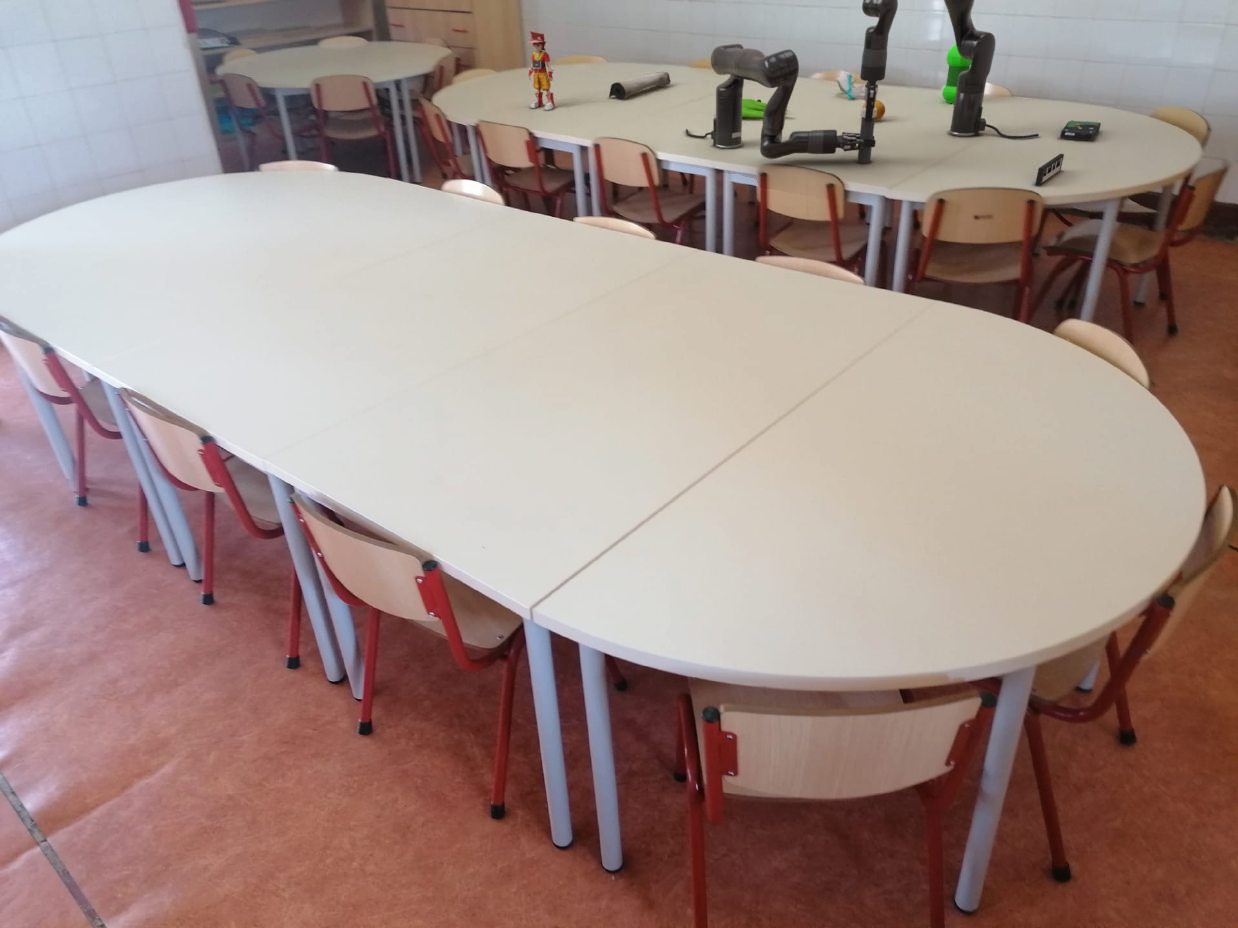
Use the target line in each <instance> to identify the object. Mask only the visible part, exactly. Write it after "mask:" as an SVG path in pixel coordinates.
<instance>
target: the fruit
mask: <svg viewBox="0 0 1238 928" xmlns="http://www.w3.org/2000/svg"><path fill="white" fill-rule="evenodd" d="M865 106H866V105H865V103H863V105H862V106H861V109H862V108H863V107H865ZM874 106H875V108H877V115H876V117H875V122H876V121H879V120H881V119H882V118H883V117H884V115H885V114H886V106H885V104H884V103H883V102H882V101H881V100H878V99H876V101H875V105H874Z"/></svg>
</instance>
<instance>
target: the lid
mask: <svg viewBox="0 0 1238 928" xmlns="http://www.w3.org/2000/svg"><path fill="white" fill-rule="evenodd" d="M862 107H863V106H862ZM862 107H861V110H860V117H861V118H862V117H864V118H865V114H866V109H865V107H863V108H862ZM876 115H877V108H874V110H873V116H872V118H873V117H876Z"/></svg>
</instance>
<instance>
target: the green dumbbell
mask: <svg viewBox="0 0 1238 928" xmlns="http://www.w3.org/2000/svg"><path fill="white" fill-rule="evenodd" d="M946 63H947V64H948V69H947V70H948V71H947V76H946V77H947V78H946V84H945V85H944V87H943V90H942V97H943V99H944V100H945V101H946V102H947V103H948V104H954V103H955V96H956V90H957V83H958V77H959V74H960V73H961V72H963V71H967V70H969V69H970V66H971V63H972V60H967V59H964V58H962V57H961V56H960V55H959V53H958V50H957V45H956V44H954V45H953V46H952V47H951V48H950V49H949V50H948V52H947V54H946Z"/></svg>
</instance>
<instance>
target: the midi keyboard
mask: <svg viewBox="0 0 1238 928" xmlns="http://www.w3.org/2000/svg"><path fill="white" fill-rule="evenodd" d="M1064 157H1065V153H1059V154H1058V155H1056V156H1055V157H1052V159H1051V160H1049V161H1047V162H1045V164H1042V165H1041V166H1039V167H1038V169H1037V175H1036V179H1035V186H1040V185H1042V183H1044V182H1045V181H1047V180H1048V179H1049V178H1051V177H1052V176H1054V175H1055V174H1056V173H1058V172H1060V171H1061V170H1062V165H1063V161H1064Z"/></svg>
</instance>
